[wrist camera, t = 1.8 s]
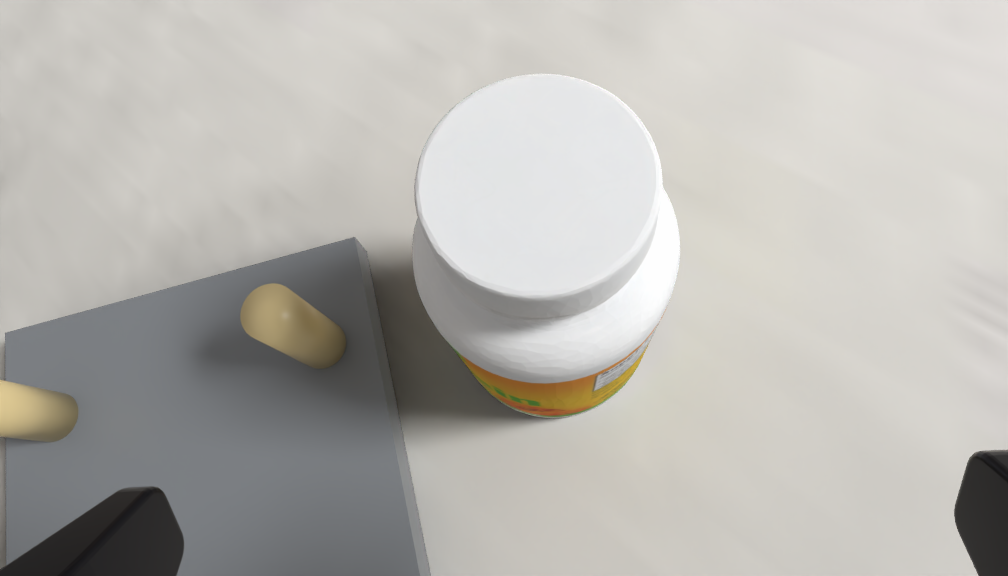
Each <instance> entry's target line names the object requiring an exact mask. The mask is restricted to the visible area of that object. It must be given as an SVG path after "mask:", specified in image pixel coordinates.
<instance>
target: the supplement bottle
mask: <svg viewBox="0 0 1008 576" xmlns="http://www.w3.org/2000/svg"><path fill="white" fill-rule="evenodd" d="M662 184H663V183H662V170H661V164H660V159H659V156H658V153H657V150H656V147H655V144H654V142H653V140H652V137H651V135H650V134H649V132H648V131H647V129H646V127H645V126H644V124H643V123H642V121H641V120H640V119H639V118H638V116H637V115H636V114H635V113H634V112H633V111H632V110H631V108H629V107H628V106H627V105H626V104H625V103H624V102H623V101H622V100H620V99H619V98H618V97H616V96H615V95H613V94H612V93H610V92H609V91H607V90H605V89H603V88H601V87H599V86H597V85H595V84H593V83H590V82H588V81H585V80H582V79H578V78H574V77H569V76H565V75H557V74H528V75H521V76H515V77H511V78H507V79H502V80H500V81H497V82H495V83H492V84H490V85H487V86H485V87H483V88H481V89H479V90H477V91H476V92H474V93H472V94H471V95H469V96H467V97H466V98H464V99H463V100H462V101H461V102H459V103H458V104H457V105H456V106H454V107H453V108H452V109H451V110H450V111H449V112H448V113H447V114H446V115H445V116H444V117H443V118H442V119H441V121H440V122H439V123H438V124H437V126H436V127H435V128H434V130H433V131H432V133H431V134H430V136H429V138H428V140H427V142H426V144H425V146H424V148H423V151H422V153H421V156H420V159H419V163H418V167H417V172H416V178H415V186H414V188H415V205H416V211H417V216H418V218H417V221H416V225H415V228H414V234H413V244H412V263H413V271H414V277H415V282H416V286H417V290H418V293H419V296H420V298H421V301H422V303H423V305H424V307H425V309H426V311H427V313H428V315H429V317H430V318H431V320H432V322H433V323H434V325H435V326H436V328H437V329H438V331H439V332H440V334H441V335H442V336H443V338H444V339H445V340H446V341H447V342H448V344H449V345H450V346H451V347H452V348H453V350H454V351H455V352H456V353H457V355H458V356H459V357H460V358H461V360H462V361H463V362H464V363H465V364H466V366H467V367H468V368H469V370H470V371H471V372H472V374H473V375H474V376H475V378H476V379H477V380H478V381H479V383H480V384H481V385H482V386H483V387H484V388H485V389H486V390H487V391H488V392H489V393H490V394H491V395H492V396H494V397H495V398H496V399H497V400H499V401H500V402H502V403H503V404H505V405H506V406H508V407H510V408H512V409H514V410H517V411H519V412H522V413H525V414H528V415H532V416H537V417H544V418H562V417H570V416H574V415H578V414H581V413H585V412H587V411H589V410H592V409H594V408H596V407H598V406H599V405H601V404H603V403H604V402H606V401H607V400H609V399H610V398H611V397H612V396H614V395H615V394H616V393H617V392H618V391H619V390H620V389H621V388H622V387H623V386H624V385H625V384H626V383H627V381H628V380H629V379H630V378H631V376H632V375H633V373H634V372H635V370H636V368H637V367H638V365H639V363H640V361H641V359H642V357H643V355H644V353H645V351H646V349H647V347H648V344H649V342H650V340H651V338H652V336H653V334H654V332H655V330H656V328H657V326H658V324H659V322H660V320H661V318H662V316H663V314H664V312H665V310H666V308H667V306H668V303H669V301H670V298H671V295H672V292H673V289H674V285H675V281H676V277H677V273H678V268H679V262H680V237H679V230H678V225H677V220H676V216H675V213H674V210H673V207H672V204H671V202H670V200H669V198H668V196H667V194H666V192H665V190H664V188H663V186H662Z"/></svg>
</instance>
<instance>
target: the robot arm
mask: <svg viewBox="0 0 1008 576" xmlns="http://www.w3.org/2000/svg"><path fill="white" fill-rule="evenodd" d="M954 516H955V522H956V526H957V529H958V532H959V534H960V536H961V539H962V541H963V543H964V545H965V547H966V549H967V552H968V554H969V556H970V558H971V560H972V562H973V565H974V567H975V569H976V571H977V573H978V575H979V576H1008V450H991V451H979V452H976V453H974V454H973V455H972V456H971V457H970V458H969V460H968V463H967V466H966V470H965V473H964V476H963V480H962V483H961V487H960V490H959V494H958V497H957V500H956V504H955V510H954ZM183 553H184V537H183V533H182V531H181V528H180V526H179V524H178V522H177V519H176V517H175V515H174V513H173V511H172V508H171V506H170V504H169V502H168V499H167V497H166V495H165V493H164V492H163V491H162V490H161V489H160V488H158V487H154V486H146V487H128V488H123V489H120V490H118V491H117V492H115V493H114V494H112V495H111V496H109V497H108V498H106V499H105V500H103V501H102V502H100V503H99V504H97V505H96V506H94V507H93V508H91V509H90V510H88V511H87V512H85V513H84V514H82V515H81V516H79V517H78V518H76V519H75V520H73V521H72V522H70V523H69V524H67V525H66V526H64V527H63V528H61V529H60V530H58V531H57V532H55V533H54V534H52V535H51V536H49V537H48V538H46V539H45V540H43V541H42V542H40V543H39V544H37V545H36V546H34V547H33V548H31V549H30V550H28V551H27V552H25V553H24V554H22V555H21V556H19V557H18V558H17V559H15V560H14V561H12V562H11V563H9V564H8V565H6V566H5V567H3V568H2V569H0V576H177V573H178V570H179V567H180V564H181V561H182V557H183Z"/></svg>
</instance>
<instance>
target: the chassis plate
mask: <svg viewBox="0 0 1008 576" xmlns="http://www.w3.org/2000/svg"><path fill="white" fill-rule="evenodd" d="M0 437H6V565H8V564H9V563H11V562H12V561H14V560H15V559H17V558H18V557H19V556H21V555H22V554H24V553H25V552H27V551H28V550H30V549H31V548H33V547H34V546H36V545H37V544H39V543H40V542H42V541H43V540H45V539H46V538H48V537H49V536H51V535H52V534H54V533H55V532H57V531H58V530H60V529H61V528H63V527H64V526H66V525H67V524H69V523H70V522H72V521H73V520H75V519H76V518H78V517H79V516H81V515H82V514H84V513H85V512H87V511H88V510H90V509H91V508H93V507H94V506H96V505H97V504H99V503H100V502H102V501H103V500H105V499H106V498H108V497H109V496H111V495H112V494H114V493H115V492H117V491H118V490H120V489H123V488H128V487H146V486H154V487H158V488H160V489H161V490H162V491H163V492H164V493H165V495H166V497H167V499H168V502H169V504H170V506H171V508H172V511H173V513H174V515H175V517H176V519H177V522H178V524H179V526H180V528H181V531H182V533H183V537H184V553H183V557H182V561H181V564H180V567H179V570H178V573H177V576H431V575H430V570H429V565H428V560H427V555H426V549H425V544H424V539H423V534H422V529H421V524H420V519H419V514H418V509H417V504H416V499H415V494H414V489H413V484H412V479H411V474H410V468H409V463H408V458H407V453H406V448H405V443H404V438H403V433H402V428H401V423H400V418H399V413H398V408H397V403H396V398H395V393H394V388H393V382H392V377H391V372H390V367H389V362H388V357H387V352H386V347H385V342H384V337H383V332H382V327H381V322H380V317H379V312H378V307H377V301H376V296H375V291H374V286H373V281H372V276H371V271H370V266H369V261H368V256H367V251H366V250H365V249H364V248H363V246H362V245H361V244H360V243H359V242H358V240H357V239H356V238H355V237H353V238H350V239H346V240H342V241H339V242H335V243H331V244H328V245H324V246H320V247H317V248H313V249H310V250H306V251H302V252H299V253H295V254H291V255H288V256H284V257H280V258H277V259H273V260H269V261H266V262H262V263H259V264H255V265H251V266H248V267H244V268H240V269H237V270H233V271H229V272H226V273H222V274H218V275H215V276H211V277H207V278H204V279H200V280H197V281H193V282H189V283H186V284H182V285H178V286H175V287H171V288H167V289H164V290H160V291H156V292H153V293H149V294H146V295H142V296H138V297H135V298H131V299H127V300H124V301H120V302H116V303H113V304H109V305H105V306H102V307H98V308H95V309H91V310H87V311H84V312H80V313H76V314H73V315H69V316H65V317H62V318H58V319H54V320H51V321H47V322H43V323H40V324H36V325H33V326H29V327H25V328H22V329H18V330H14V331H11V332H7V333H5V381H4V380H0Z"/></svg>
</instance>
